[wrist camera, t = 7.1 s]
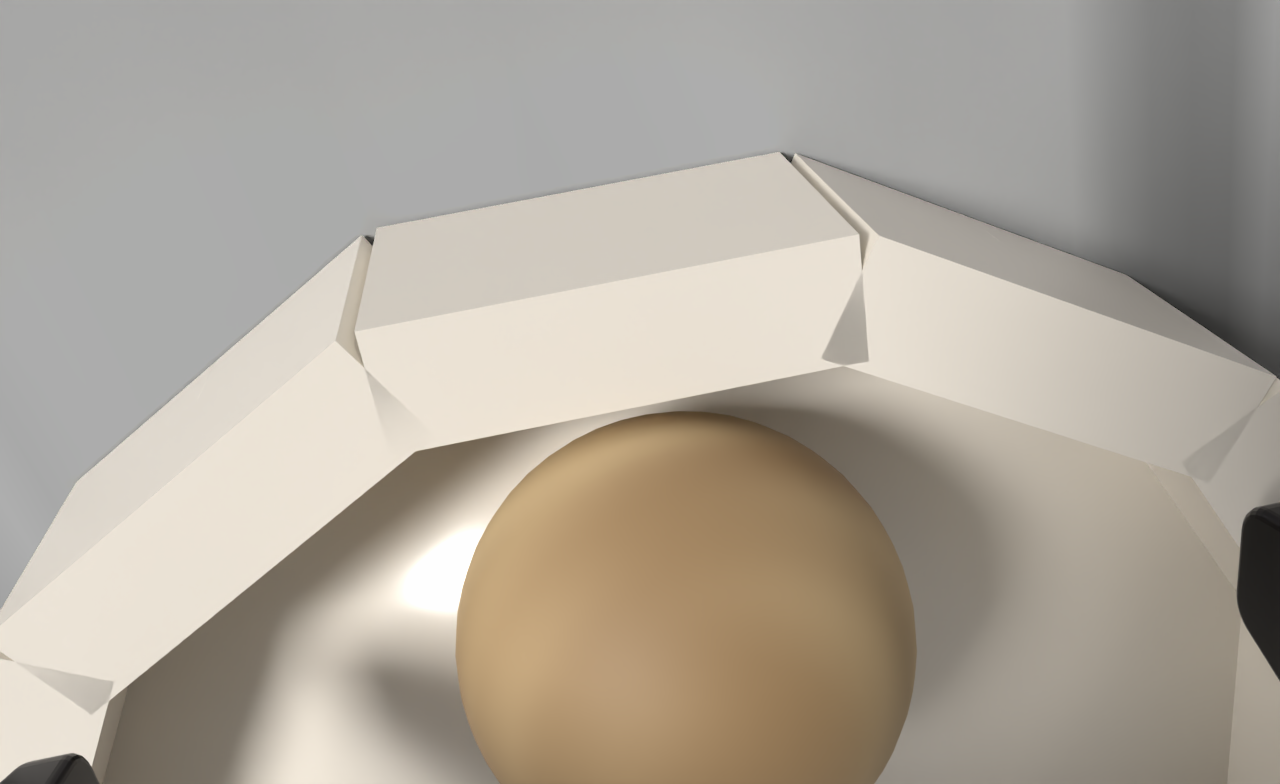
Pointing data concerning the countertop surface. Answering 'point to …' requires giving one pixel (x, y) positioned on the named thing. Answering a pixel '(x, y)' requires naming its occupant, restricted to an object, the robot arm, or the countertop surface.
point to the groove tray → (655, 383)
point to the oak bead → (685, 615)
